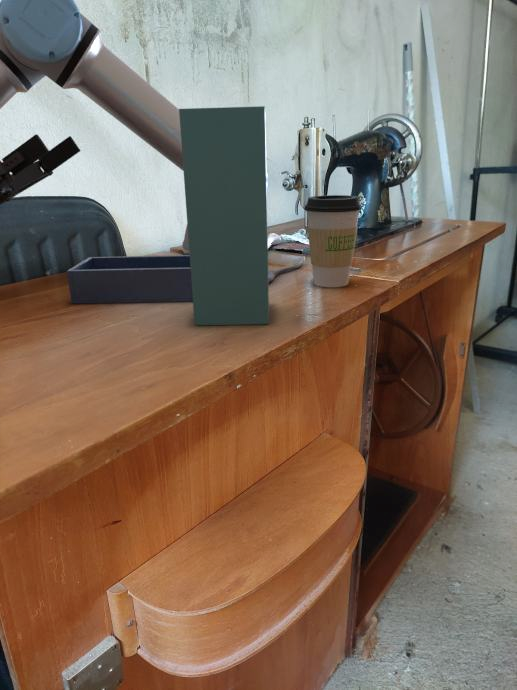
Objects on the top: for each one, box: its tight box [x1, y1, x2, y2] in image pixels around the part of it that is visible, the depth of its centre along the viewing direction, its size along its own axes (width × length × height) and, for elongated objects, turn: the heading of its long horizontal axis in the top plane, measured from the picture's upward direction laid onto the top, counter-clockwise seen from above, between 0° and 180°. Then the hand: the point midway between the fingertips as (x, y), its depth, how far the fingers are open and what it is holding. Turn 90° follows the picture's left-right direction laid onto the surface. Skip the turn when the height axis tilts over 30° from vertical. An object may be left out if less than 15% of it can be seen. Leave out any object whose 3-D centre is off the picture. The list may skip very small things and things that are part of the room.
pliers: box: [268, 259, 303, 284], centre depth 102 cm, size 10×1×20 cm
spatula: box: [268, 232, 282, 249], centre depth 121 cm, size 28×4×3 cm, turn 173°
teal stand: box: [178, 105, 270, 326], centre depth 72 cm, size 10×9×28 cm
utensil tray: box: [66, 254, 193, 305], centre depth 89 cm, size 23×11×6 cm, turn 89°
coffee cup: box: [304, 194, 363, 288], centre depth 91 cm, size 10×10×15 cm
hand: (60, 143), depth 82 cm, fingers open, 13 cm apart
